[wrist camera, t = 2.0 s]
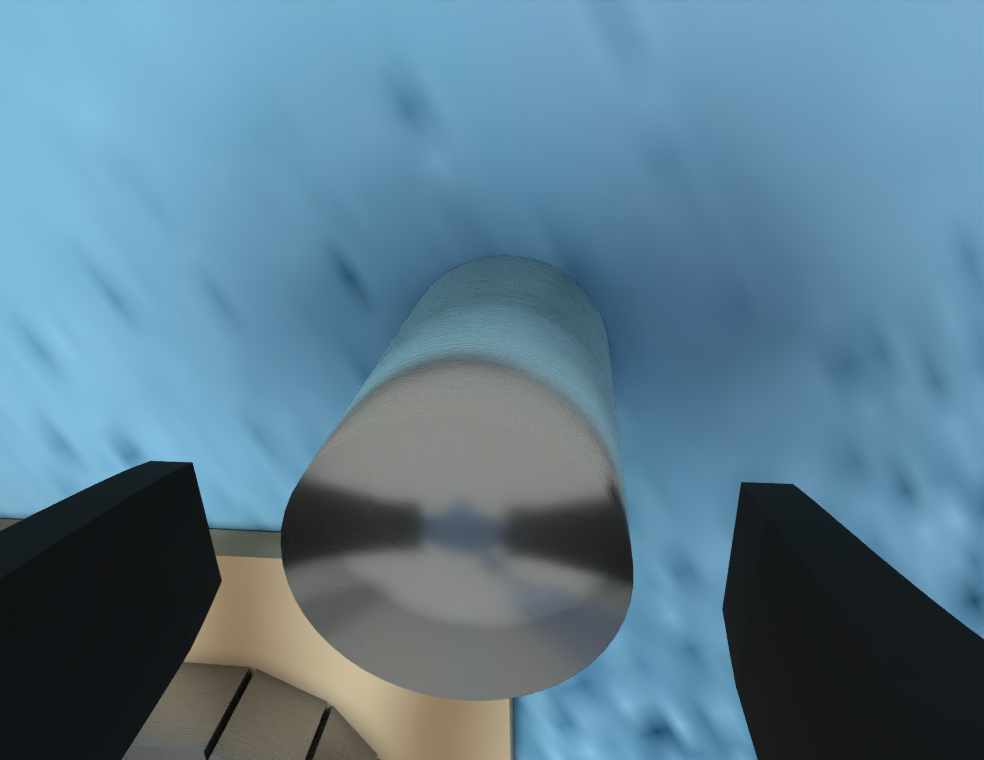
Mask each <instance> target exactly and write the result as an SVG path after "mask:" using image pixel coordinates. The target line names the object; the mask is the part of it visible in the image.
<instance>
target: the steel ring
mask: <svg viewBox="0 0 984 760" xmlns="http://www.w3.org/2000/svg"><path fill="white" fill-rule="evenodd" d="M326 704H327V701H325V700H323V699H321V698H318V697H316V696H314V695H312V694H310V693H308V692H306V691H303V690H301V689H299V688H297V687H295V686H293V685H291V684H288V683H286V682H284V681H282V680H280V679H278V678H276V677H273V676H271V675H269V674H267V673H265V672H263V671H261V670H258V669H256V671H255V673H254V674H253V676H252V675H251V671H250V667H246V666H232V665H218V664H205V663H191V662H183V663H182V665H181V666H180V668H179V670H178V671H177V673H176V674H175V676H174V678H173V679H172V681H171V682H170V684H169V686H168V687H167V689H166V690H165V692H164V694H163V695H162V697H161V699H160V700H159V702H158V703H157V705H156V707H155V708H154V710H153V711H152V713H151V714H150V716H149V718H148V719H147V721H146V722H145V724H144V725H143V727H142V729H141V730H140V732H139V733H138V735H137V736H136V738H135V740H134V741H133V743H132V744H131V746H130V747H129V749H128V751H127V752H126V754H125V755H124V757H123V758H122V760H380V759H376V758H377V754H376V752H375V751H374V750H373V749H372V748H371V747H370V746H369V745H368V744H367V743H366V741H365V740H364V739H363V738H362V737H361V736H360V735H359V734H358V733H357V732H356V730H355V729H354V728H353V727H352V726H351V725H350V724H349V723H348V722H347V721H346V719H345V718H344V717H343V716H342V715H341V714H340V713H339V712H338V711H337V710H336V708H335V707H334V706H331V707H328V708H326V709H325V707H326Z"/></svg>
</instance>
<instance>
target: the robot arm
mask: <svg viewBox="0 0 984 760" xmlns="http://www.w3.org/2000/svg"><path fill="white" fill-rule="evenodd" d="M221 582H222V579H221V575H220V571H219V567H218V563H217V559H216V555H215V551H214V547H213V543H212V539H211V535H210V531H209V527H208V523H207V519H206V515H205V511H204V507H203V503H202V499H201V495H200V491H199V487H198V483H197V479H196V475H195V471H194V466H193V463H192V462H165V461H149V462H147V463H144V464H141V465H139V466H136V467H133V468H131V469H128V470H126V471H124V472H121V473H119V474H117V475H115V476H112V477H110V478H108V479H106V480H104V481H101V482H99V483H97V484H95V485H93V486H91V487H89V488H87V489H84V490H82V491H80V492H78V493H76V494H74V495H72V496H70V497H68V498H66V499H64V500H62V501H60V502H58V503H56V504H54V505H52V506H50V507H48V508H46V509H43V510H41V511H39V512H37V513H35V514H33V515H31V516H29V517H27V518H25V519H23V520H21V521H19V522H17V523H15V524H13V525H11V526H9V527H7V528H5V529H3V530H1V531H0V760H122V758H123V757H124V755H125V754H126V752H127V751H128V749H129V747H130V746H131V744H132V743H133V741H134V740H135V738H136V736H137V735H138V733H139V732H140V730H141V729H142V727H143V725H144V724H145V722H146V721H147V719H148V718H149V716H150V714H151V713H152V711H153V710H154V708H155V707H156V705H157V703H158V702H159V700H160V699H161V697H162V695H163V694H164V692H165V690H166V689H167V687H168V686H169V684H170V682H171V681H172V679H173V678H174V676H175V674H176V673H177V671H178V670H179V668H180V666H181V665H182V663H183V661H184V660H185V658H186V656H187V655H188V653H189V651H190V650H191V648H192V646H193V644H194V642H195V640H196V638H197V635H198V633H199V631H200V629H201V627H202V625H203V623H204V621H205V619H206V617H207V614H208V612H209V610H210V608H211V605H212V603H213V601H214V598H215V596H216V594H217V592H218V589H219V587H220V585H221ZM723 615H724V621H725V627H726V633H727V639H728V645H729V651H730V657H731V662H732V667H733V673H734V678H735V684H736V688H737V691H738V695H739V698H740V702H741V705H742V708H743V712H744V715H745V718H746V722H747V725H748V729H749V732H750V735H751V739H752V742H753V745H754V749H755V752H756V755H757V758H758V760H984V639H983V638H981V637H980V636H978V635H977V634H976V633H974V632H973V631H972V630H970V629H969V628H968V627H966V626H965V625H964V624H963V623H961V622H960V621H959V620H957V619H956V618H955V617H954V616H952V615H951V614H950V613H948V612H947V611H946V610H945V609H943V608H942V607H941V606H939V605H938V604H937V603H936V602H934V601H933V600H932V599H931V598H929V597H928V596H927V595H926V594H924V593H923V592H922V591H921V590H919V589H918V588H917V587H916V586H914V585H913V584H912V583H911V582H910V581H908V580H907V579H906V578H905V577H904V576H902V575H901V574H900V573H899V572H897V571H896V570H895V569H894V568H893V567H891V566H890V565H889V564H888V563H887V562H885V561H884V560H883V559H882V558H881V557H879V556H878V555H877V554H876V553H875V552H873V551H872V550H871V549H870V548H869V547H868V546H866V545H865V544H864V543H863V542H862V541H860V540H859V539H858V538H857V537H856V536H855V535H853V534H852V533H851V532H850V531H849V530H848V529H846V528H845V527H844V526H843V525H842V524H841V523H839V522H838V521H837V520H836V519H835V518H834V517H832V516H831V515H830V514H829V513H828V512H826V511H825V510H824V509H823V508H822V507H821V506H819V505H818V504H817V503H816V502H815V501H813V500H812V499H811V498H810V497H809V496H807V495H806V494H805V493H804V492H802V491H801V490H800V489H799V488H797V487H796V486H795V485H793V484H777V483H749V482H741V488H740V495H739V501H738V508H737V515H736V522H735V528H734V535H733V542H732V548H731V555H730V562H729V569H728V575H727V582H726V589H725V596H724V602H723Z"/></svg>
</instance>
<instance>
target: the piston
mask: <svg viewBox="0 0 984 760" xmlns="http://www.w3.org/2000/svg"><path fill="white" fill-rule="evenodd" d="M281 555H282V563H283V568H284V571H285V575H286V579H287V582H288V585H289V587H290V589H291V592H292V594H293V596H294V599H295V601H296V602H297V604H298V606H299V607H300V609H301V611H302V612H303V614H304V616H305V617H306V618H307V620H308V621H309V622H310V623H311V625H312V626H313V627H314V629H315V630H316V631H317V632H318V633H319V634H320V635H321V636H322V637H323V638H324V639H325V640H326V641H327V642H328V643H329V644H330V645H331V646H332V647H333V648H334V649H335V650H337V651H338V652H339V653H340V654H341V655H343V656H344V657H345V658H346V659H348V660H349V661H351V662H352V663H354V664H355V665H357V666H358V667H360V668H361V669H363V670H365V671H367V672H369V673H370V674H372V675H374V676H376V677H378V678H380V679H382V680H384V681H387V682H389V683H391V684H394V685H396V686H398V687H401V688H404V689H407V690H411V691H414V692H417V693H420V694H425V695H429V696H434V697H438V698H445V699H453V700H462V701H490V700H503V699H509V698H515V697H521V696H525V695H529V694H532V693H536V692H539V691H542V690H545V689H547V688H550V687H552V686H555V685H557V684H560V683H561V682H563V681H565V680H567V679H569V678H571V677H572V676H574V675H576V674H577V673H579V672H580V671H581V670H583V669H584V668H586V667H587V666H588V665H590V664H591V663H592V662H593V661H594V660H595V659H596V658H597V657H598V656H599V655H600V654H601V653H602V652H603V651H604V650H605V649H606V648H607V647H608V645H609V644H610V643H611V641H612V640H613V639H614V637H615V636H616V634H617V632H618V631H619V629H620V627H621V625H622V623H623V621H624V619H625V616H626V613H627V611H628V608H629V605H630V601H631V595H632V589H633V560H632V551H631V542H630V533H629V524H628V515H627V506H626V497H625V488H624V479H623V470H622V461H621V452H620V442H619V433H618V424H617V415H616V406H615V397H614V388H613V379H612V370H611V361H610V352H609V344H608V338H607V332H606V329H605V326H604V323H603V320H602V318H601V316H600V314H599V312H598V309H597V308H596V306H595V305H594V303H593V302H592V300H591V299H590V297H589V296H588V295H587V294H586V293H585V291H584V290H583V289H582V288H581V287H580V286H579V285H578V284H577V283H575V282H574V281H573V280H572V279H571V278H570V277H568V276H567V275H565V274H564V273H562V272H560V271H559V270H557V269H555V268H553V267H551V266H549V265H547V264H545V263H542V262H539V261H536V260H533V259H528V258H523V257H517V256H490V257H485V258H480V259H475V260H472V261H469V262H466V263H463V264H461V265H459V266H457V267H455V268H453V269H451V270H450V271H448V272H447V273H445V274H444V275H442V276H441V277H440V278H439V279H437V280H436V281H435V282H434V283H433V284H432V285H431V286H430V287H429V288H428V289H427V291H426V292H425V293H424V294H423V295H422V297H421V298H420V300H419V301H418V303H417V304H416V306H415V307H414V309H413V310H412V312H411V313H410V315H409V316H408V318H407V319H406V321H405V322H404V324H403V325H402V327H401V328H400V330H399V331H398V333H397V335H396V336H395V338H394V339H393V341H392V342H391V344H390V345H389V347H388V348H387V350H386V351H385V353H384V354H383V356H382V357H381V359H380V360H379V362H378V363H377V365H376V366H375V368H374V369H373V371H372V372H371V374H370V375H369V377H368V378H367V380H366V381H365V383H364V384H363V386H362V387H361V389H360V390H359V392H358V393H357V395H356V396H355V398H354V399H353V401H352V402H351V404H350V405H349V407H348V408H347V410H346V411H345V413H344V414H343V416H342V417H341V419H340V420H339V422H338V423H337V425H336V426H335V428H334V429H333V431H332V432H331V434H330V435H329V437H328V438H327V440H326V441H325V443H324V444H323V446H322V447H321V449H320V450H319V452H318V453H317V455H316V456H315V458H314V459H313V461H312V462H311V464H310V465H309V467H308V468H307V470H306V471H305V473H304V474H303V476H302V477H301V479H300V481H299V482H298V484H297V486H296V487H295V489H294V491H293V492H292V494H291V497H290V499H289V502H288V504H287V507H286V509H285V513H284V518H283V523H282V528H281Z"/></svg>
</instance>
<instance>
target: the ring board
mask: <svg viewBox="0 0 984 760" xmlns="http://www.w3.org/2000/svg"><path fill="white" fill-rule="evenodd" d="M19 521H21V520H13V519H0V531H1V530H3V529H5V528H7V527H9V526H11V525H13V524H15V523H17V522H19ZM209 531H210V535H211V539H212V543H213V547H214V551H215V555H216V559H217V563H218V567H219V571H220V575H221V579H222V582H221V585H220V587H219V589H218V592H217V594H216V596H215V598H214V601H213V603H212V605H211V608H210V610H209V612H208V614H207V617H206V619H205V621H204V623H203V625H202V627H201V629H200V631H199V633H198V635H197V638H196V640H195V642H194V644H193V646H192V648H191V650H190V651H189V653H188V655H187V656H186V658H185V660H184V661H183V662H191V663H205V664H218V665H232V666H246V667H250V671H251V675H252V676H253V674H254V673H255V671H256V669H258V670H261V671H263V672H265V673H267V674H269V675H271V676H273V677H276V678H278V679H280V680H282V681H284V682H286V683H288V684H291V685H293V686H295V687H297V688H299V689H301V690H303V691H306V692H308V693H310V694H312V695H314V696H316V697H318V698H321V699H323V700H325V701H327V704H326V707H325V709H326V708H328V707H331V706H334V707H335V708H336V710H337V711H338V712H339V713H340V714H341V715H342V716H343V717H344V718H345V719H346V721H347V722H348V723H349V724H350V725H351V726H352V727H353V728H354V729H355V730H356V732H357V733H358V734H359V735H360V736H361V737H362V738H363V739H364V740H365V741H366V743H367V744H368V745H369V746H370V747H371V748H372V749H373V750H374V751H375V752H376V754H377V758H376V759H380V760H514V725H513V698H509V699H503V700H490V701H462V700H453V699H445V698H438V697H434V696H429V695H425V694H420V693H417V692H414V691H411V690H407V689H404V688H401V687H398V686H396V685H394V684H391V683H389V682H387V681H384V680H382V679H380V678H378V677H376V676H374V675H372V674H370V673H369V672H367V671H365V670H363V669H361V668H360V667H358V666H357V665H355V664H354V663H352V662H351V661H349V660H348V659H346V658H345V657H344V656H343V655H341V654H340V653H339V652H338V651H337V650H335V649H334V648H333V647H332V646H331V645H330V644H329V643H328V642H327V641H326V640H325V639H324V638H323V637H322V636H321V635H320V634H319V633H318V632H317V631H316V630H315V629H314V627H313V626H312V625H311V623H310V622H309V621H308V620H307V618H306V617H305V616H304V614H303V612H302V611H301V609H300V607H299V606H298V604H297V602H296V601H295V599H294V596H293V594H292V592H291V589H290V587H289V585H288V582H287V579H286V575H285V571H284V568H283V563H282V555H281V533H280V532H259V531H239V530H218V529H209Z"/></svg>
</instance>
